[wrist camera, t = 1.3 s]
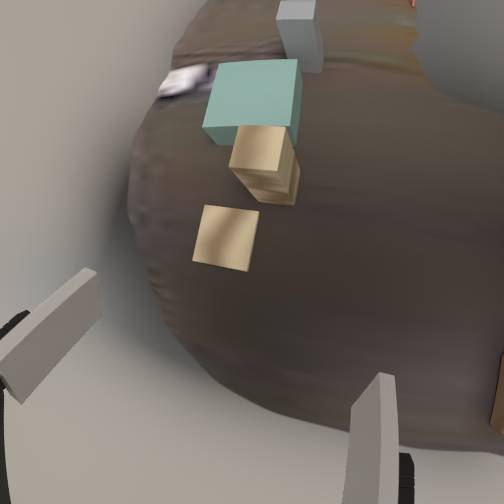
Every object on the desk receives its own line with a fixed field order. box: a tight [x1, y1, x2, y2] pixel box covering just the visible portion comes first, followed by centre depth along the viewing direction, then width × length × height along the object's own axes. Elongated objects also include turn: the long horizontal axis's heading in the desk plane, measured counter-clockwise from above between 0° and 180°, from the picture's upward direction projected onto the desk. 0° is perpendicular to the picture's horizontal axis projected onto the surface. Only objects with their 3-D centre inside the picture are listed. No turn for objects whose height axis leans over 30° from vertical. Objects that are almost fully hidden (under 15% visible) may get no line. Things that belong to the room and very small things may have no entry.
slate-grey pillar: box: [276, 0, 324, 73], centre depth 37 cm, size 5×5×12 cm
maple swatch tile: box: [192, 205, 260, 272], centre depth 42 cm, size 8×8×1 cm
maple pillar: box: [229, 125, 301, 206], centre depth 35 cm, size 5×5×12 cm
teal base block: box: [202, 59, 303, 146], centre depth 41 cm, size 12×12×6 cm
